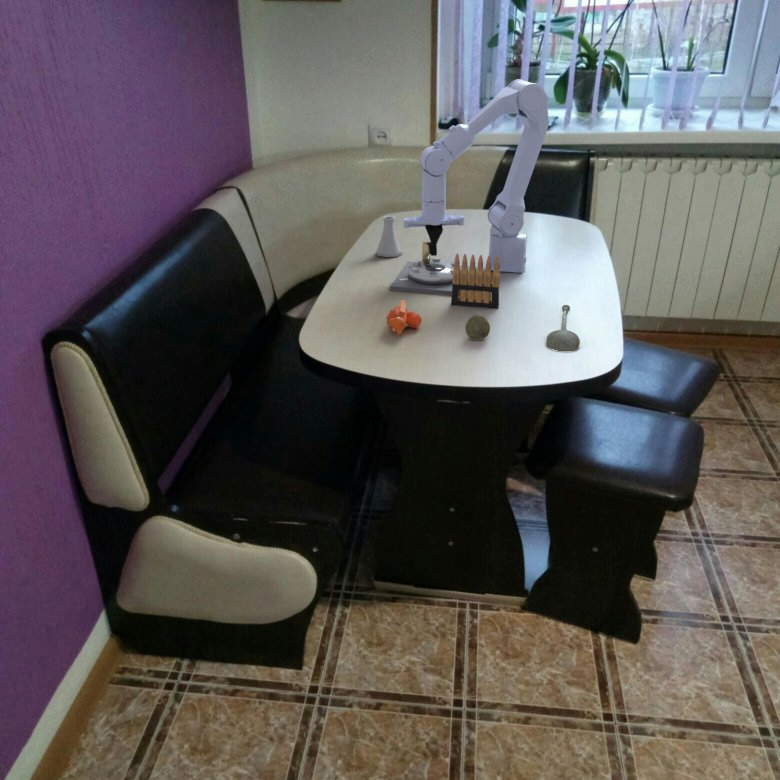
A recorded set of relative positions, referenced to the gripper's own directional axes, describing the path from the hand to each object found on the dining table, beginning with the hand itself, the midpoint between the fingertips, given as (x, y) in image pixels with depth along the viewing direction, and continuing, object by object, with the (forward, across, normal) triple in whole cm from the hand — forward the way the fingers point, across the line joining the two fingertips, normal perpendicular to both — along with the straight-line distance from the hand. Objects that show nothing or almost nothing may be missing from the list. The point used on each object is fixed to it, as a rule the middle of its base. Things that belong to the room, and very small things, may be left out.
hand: (433, 254), depth 181 cm
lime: (+5, +3, -39) cm, 40 cm away
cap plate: (+5, 0, -5) cm, 7 cm away
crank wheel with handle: (+4, 0, -5) cm, 6 cm away
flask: (+5, -10, +17) cm, 20 cm away
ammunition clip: (+5, +6, -22) cm, 24 cm away
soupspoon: (+6, +22, -37) cm, 44 cm away
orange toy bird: (+5, -11, -32) cm, 34 cm away
